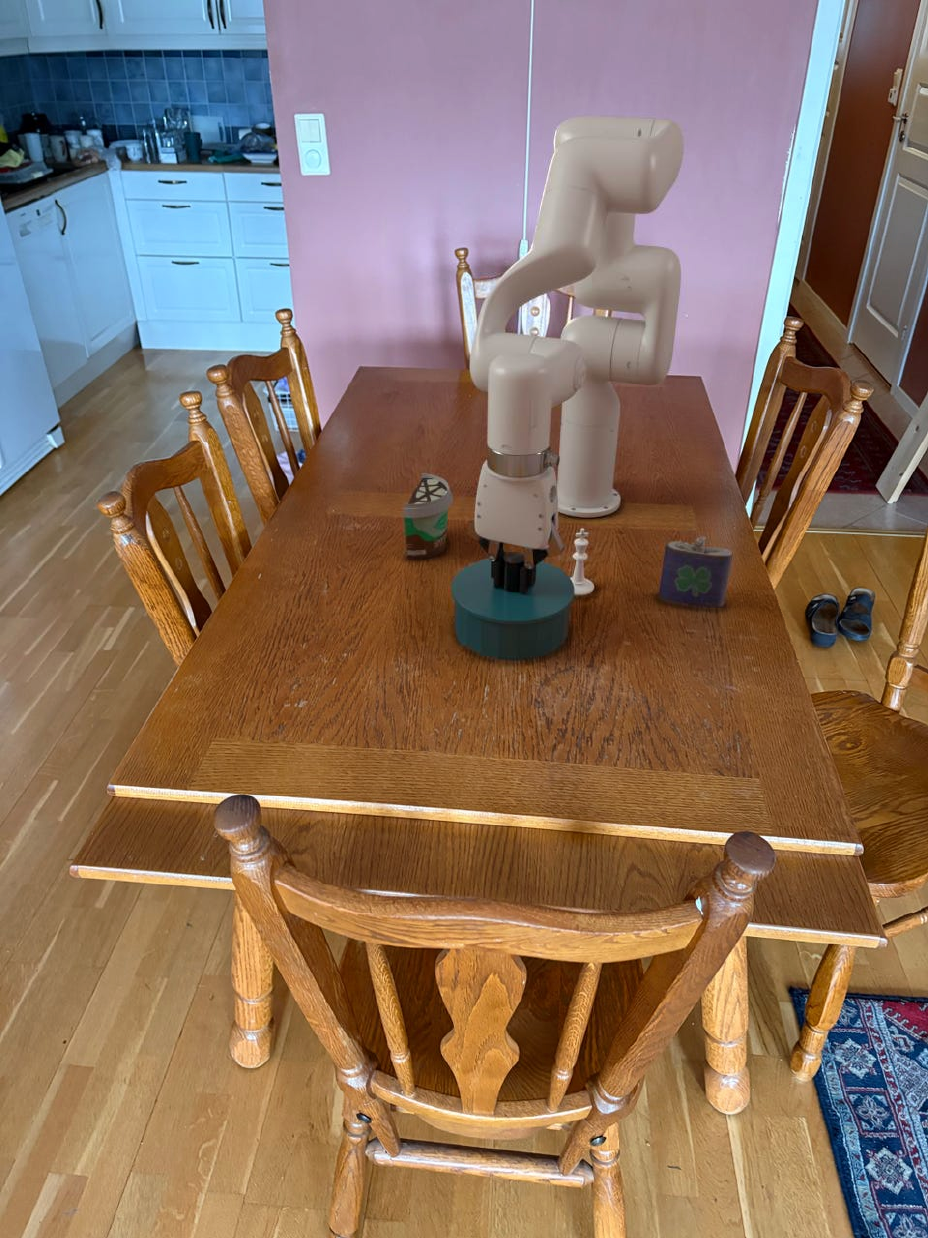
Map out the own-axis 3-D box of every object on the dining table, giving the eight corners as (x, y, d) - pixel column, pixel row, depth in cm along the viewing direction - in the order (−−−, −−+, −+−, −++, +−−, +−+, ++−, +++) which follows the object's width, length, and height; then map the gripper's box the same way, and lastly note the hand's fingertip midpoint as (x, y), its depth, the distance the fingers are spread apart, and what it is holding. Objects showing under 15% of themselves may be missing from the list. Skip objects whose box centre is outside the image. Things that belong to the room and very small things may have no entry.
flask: (723, 602, 132) (735, 537, 126) (722, 613, 130) (734, 547, 124) (658, 593, 134) (667, 528, 128) (656, 603, 132) (665, 538, 126)
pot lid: (480, 554, 132) (480, 518, 128) (589, 578, 126) (592, 541, 123) (430, 611, 119) (430, 573, 116) (550, 640, 114) (552, 601, 110)
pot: (481, 591, 134) (482, 552, 131) (582, 614, 129) (585, 575, 126) (436, 646, 123) (436, 606, 119) (545, 675, 117) (548, 633, 114)
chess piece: (558, 581, 137) (562, 521, 131) (590, 580, 137) (596, 520, 132) (563, 599, 133) (568, 538, 127) (597, 597, 133) (603, 536, 127)
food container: (443, 567, 140) (442, 509, 135) (404, 563, 141) (402, 505, 136) (460, 530, 150) (460, 474, 145) (423, 527, 151) (422, 471, 146)
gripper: (591, 457, 112) (580, 586, 122) (468, 436, 117) (468, 561, 128) (571, 481, 106) (562, 614, 116) (444, 458, 112) (445, 586, 122)
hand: (512, 585), depth 122 cm, fingers closed on pot lid, 3 cm apart
